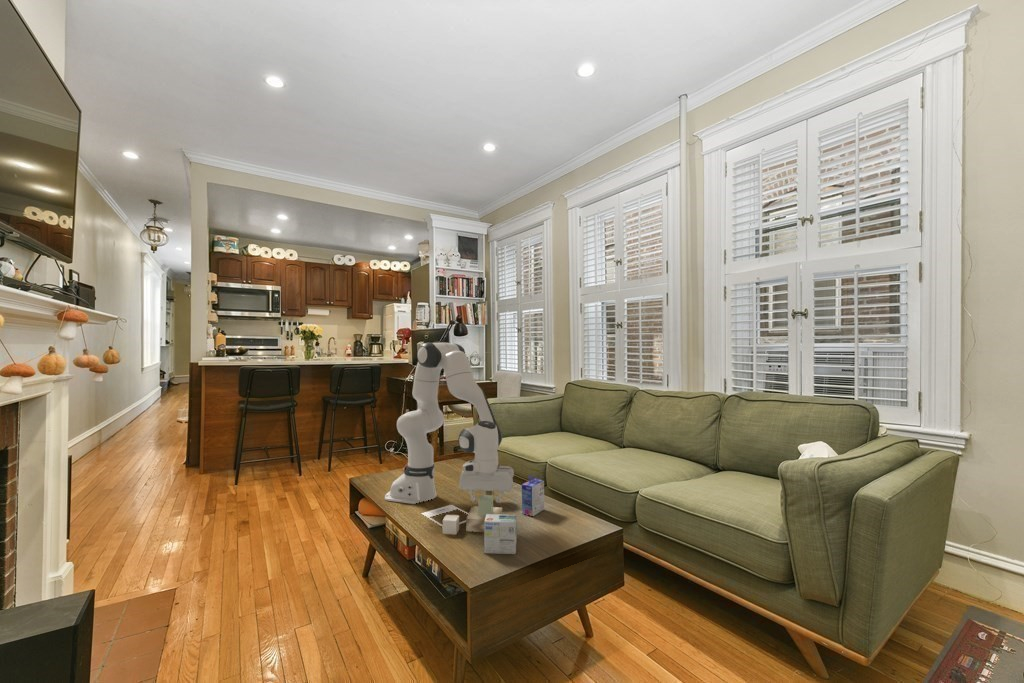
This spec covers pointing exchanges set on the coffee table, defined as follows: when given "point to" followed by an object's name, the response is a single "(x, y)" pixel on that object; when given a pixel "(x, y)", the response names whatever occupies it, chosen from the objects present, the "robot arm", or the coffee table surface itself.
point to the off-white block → (451, 524)
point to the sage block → (485, 505)
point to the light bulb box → (500, 533)
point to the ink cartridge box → (532, 496)
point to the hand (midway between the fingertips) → (486, 501)
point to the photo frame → (440, 511)
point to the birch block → (478, 519)
